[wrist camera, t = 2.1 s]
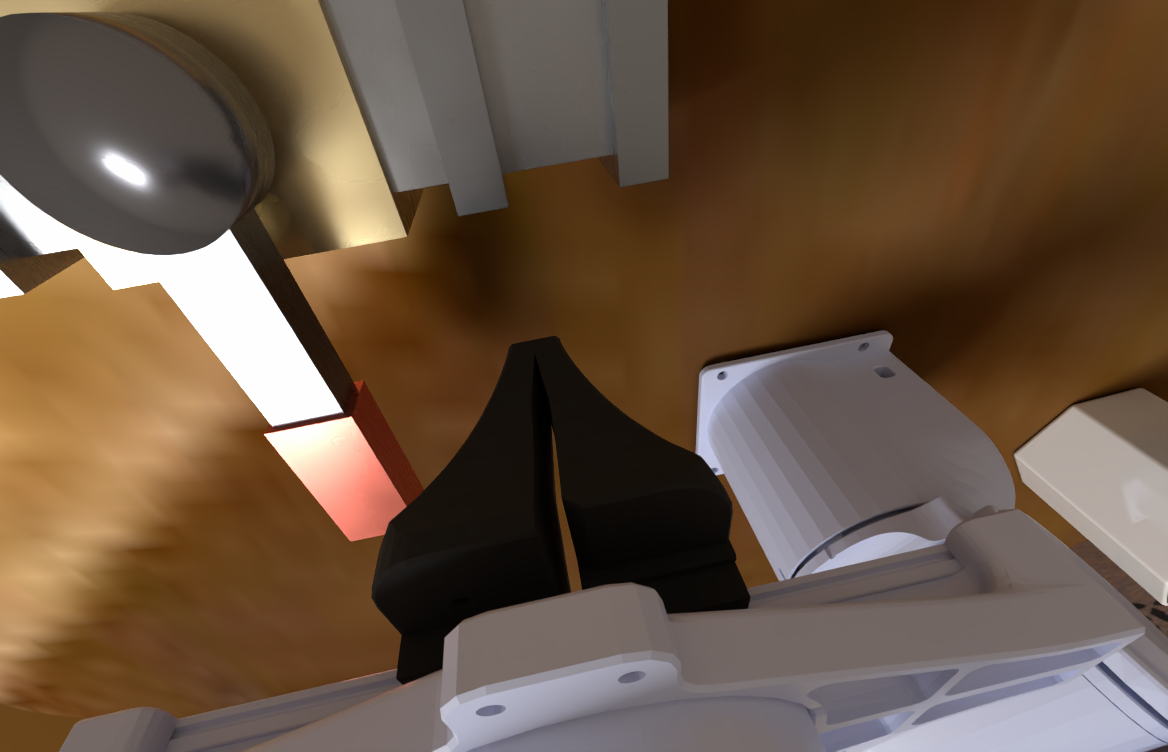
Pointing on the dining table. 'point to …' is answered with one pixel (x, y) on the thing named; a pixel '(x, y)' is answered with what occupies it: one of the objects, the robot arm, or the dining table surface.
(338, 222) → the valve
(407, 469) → the lever
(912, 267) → the dining table surface
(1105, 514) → the jar
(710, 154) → the dining table surface
